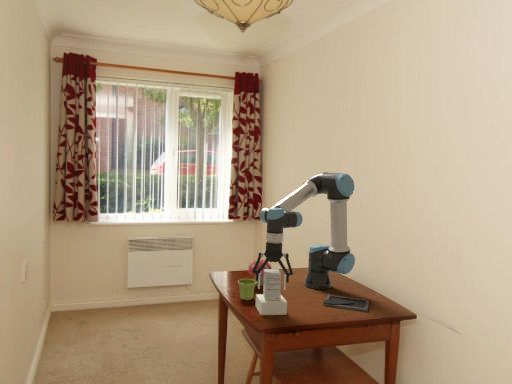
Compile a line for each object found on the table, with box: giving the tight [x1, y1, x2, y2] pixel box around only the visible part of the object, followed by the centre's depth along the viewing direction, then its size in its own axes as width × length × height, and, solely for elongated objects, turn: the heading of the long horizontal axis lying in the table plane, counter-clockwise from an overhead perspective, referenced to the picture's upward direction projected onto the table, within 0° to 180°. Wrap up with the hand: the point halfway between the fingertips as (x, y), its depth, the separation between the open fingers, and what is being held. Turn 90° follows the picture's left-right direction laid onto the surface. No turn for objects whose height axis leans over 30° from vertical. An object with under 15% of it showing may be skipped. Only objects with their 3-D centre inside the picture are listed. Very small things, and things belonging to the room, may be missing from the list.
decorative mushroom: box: [247, 258, 273, 287], centre depth 232 cm, size 13×13×15 cm
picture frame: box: [322, 293, 370, 313], centre depth 211 cm, size 16×2×21 cm
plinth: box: [254, 293, 288, 316], centre depth 196 cm, size 12×12×6 cm
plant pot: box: [237, 278, 257, 301], centre depth 211 cm, size 9×9×9 cm
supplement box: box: [262, 268, 282, 300], centre depth 195 cm, size 7×7×13 cm
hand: (271, 288), depth 195 cm, fingers open, 11 cm apart
